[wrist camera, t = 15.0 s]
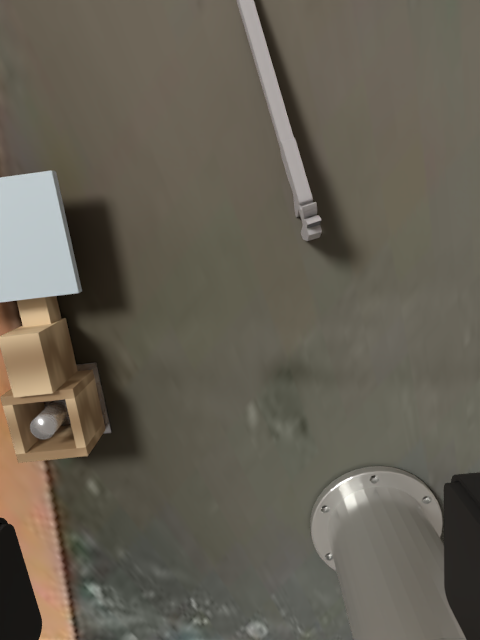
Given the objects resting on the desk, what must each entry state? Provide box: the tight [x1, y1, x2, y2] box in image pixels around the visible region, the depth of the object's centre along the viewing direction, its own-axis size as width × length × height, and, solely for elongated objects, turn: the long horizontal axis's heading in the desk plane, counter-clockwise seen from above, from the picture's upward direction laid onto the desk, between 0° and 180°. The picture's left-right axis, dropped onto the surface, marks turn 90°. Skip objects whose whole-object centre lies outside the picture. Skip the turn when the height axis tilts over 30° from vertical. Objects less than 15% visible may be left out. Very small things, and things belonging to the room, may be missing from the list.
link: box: [0, 296, 106, 463], centre depth 35 cm, size 18×6×5 cm, turn 7°
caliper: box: [237, 0, 322, 241], centre depth 30 cm, size 20×1×6 cm, turn 18°
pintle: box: [30, 362, 112, 439], centre depth 37 cm, size 7×7×5 cm
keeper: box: [0, 171, 82, 302], centre depth 34 cm, size 9×11×4 cm
